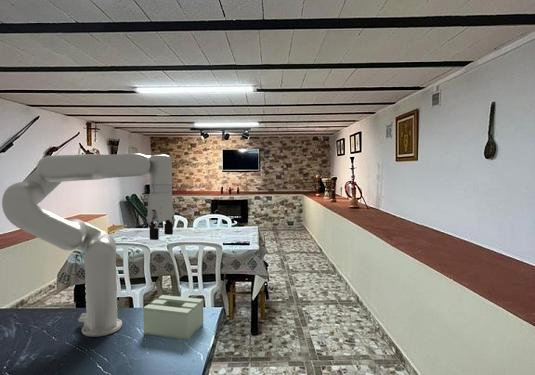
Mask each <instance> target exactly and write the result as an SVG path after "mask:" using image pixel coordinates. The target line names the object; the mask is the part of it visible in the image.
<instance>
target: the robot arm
mask: <svg viewBox="0 0 535 375" xmlns="http://www.w3.org/2000/svg"><path fill="white" fill-rule="evenodd" d="M172 161H173V160H172V157H171V156H170V155H168V154H153V155H146V154H142V153H119V154H117V153H116V154H100V153H89V154H87V153H86V154H85V153H83V154H65V155H64V154H63V155H62V154H60V155H46V156H44V157H42V158H41V159H39V161H38V162H37V164H36V169H35V170H34V171H33V172H31V174H29V175H28V176H27V177H26V178H25V179H24V180H22V181H18V182H16V183H12V184H11V185H10V186H8V187H7V188H6V190H5V191H4V193H3V195H2V199H1V205H2V206H1V207H2V212H3V214H4V216H5V217H6V219H7V220H8V221H9V222H10V223H11V224H12V225H14V227H16V228H18V229H20V230H22V231H23V232H25V233H27V234H30V235H32V236H35V237H36V238H38V239H40V240H42V241H44V242H46V243H49V244H51V245H53V246H55V247H57V248H59V249H61V250H64V251H68V252H69V251H75V250H78V251H79V252H80V251H81V252H83V254H84V255H83V261H84V278H85V279H84V280H85V302H86V303H85V305H86V307H85V308H86V310H85V311H86V312H82V313H81V314H80V316H79V317H78V319H77V321H78V322H80V323H81V322H82V323H83V325H82V327H81V333H82V335H84V336H85V337H97V338H98V337H104V336H108V335H111V334H113V333H116V332H118V331H119V330H120V329H121V328H122V327H123V321H122V320H121V319H120V318H118V291H117V290H118V289H117V284H118V283H117V245H116V244H117V243H116V240H115V238H114V237H113V236H112V235H111V234H109V233H108V232H106V231H104V230H103V229H100V228H98V227H96V226H94V225H93V224H90V223H88V222H86V221H84V220H81V219H77V218H68V219H66V218H63V217H61V216H59V215H57V214H55V213H53V212H51V211H48V210H47V209H44V208H41V207H40V206H39V205H38V204H40V203H41V202H42V201H43V200H44V199H45V198H46V197H48V196H49V195H50V194H51V193H52V192H53V191H54V190H55V189H56V188H57V187H58V186H59V185H60V184H61V183H62V182H77V181H78V182H79V181H94V180H95V181H97V180H103V179H111V178H113V179H114V178H115V179H116V178H128V177H141V176H142V177H143V176H145V175H149V196H148V200H147V201H148V202H147V216H146V217H145V220H146V222H147V226H148V229H149V240H151V241H159V240H160V239H159V238H160V236H159V235H160V234H159V232H160V229H159V224H160V223H163V222H164V226H163V227H164V229H163V230H164V235H168V236H169V235H171V236H172V235H173V234H174V219H175V214H176V213H175V212H176V211H175V210H174V204H173V203H174V202H173V195H172V194H173V169H172V168H173V167H172V165H173V164H172Z"/></svg>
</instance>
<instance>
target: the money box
mask: <svg viewBox="0 0 535 375" xmlns="http://www.w3.org/2000/svg"><path fill="white" fill-rule="evenodd" d="M142 311H143V335H147V336H148V335H149V336H154V337H155V336H156V337H162V338H170V339H175V340H176V339H177V340H184V341H189V339H190V338H191V337H192V336H193V335H195V333H197V331H198V330H199V329H200V328H201V327H203V325H204V298H195V297H189V296H188V297H186V296H177V295H166V294H162V295H160V296H159V297H158V298H157V299H154V300H153V301H151V302H150V303H149V304H147V305H145V306H144V307H143V310H142Z"/></svg>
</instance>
